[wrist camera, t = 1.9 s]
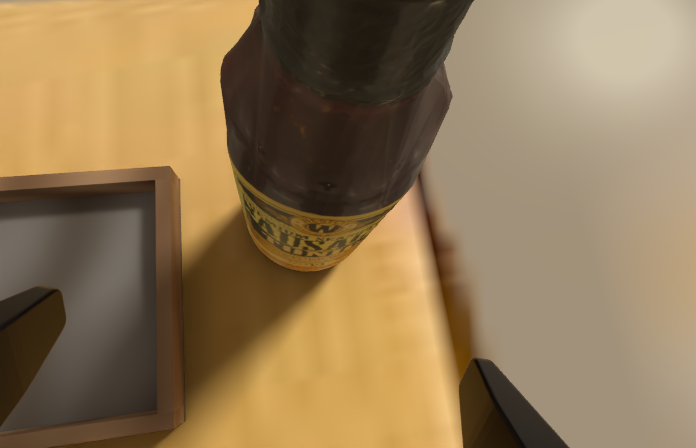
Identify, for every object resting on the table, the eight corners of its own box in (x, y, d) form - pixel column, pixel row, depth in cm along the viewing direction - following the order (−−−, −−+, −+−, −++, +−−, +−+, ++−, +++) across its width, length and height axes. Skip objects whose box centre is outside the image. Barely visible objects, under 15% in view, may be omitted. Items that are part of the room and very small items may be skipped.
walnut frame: (179, 179, 23) (169, 166, 21) (185, 420, 20) (174, 428, 18) (-72, 197, 22) (-106, 184, 20) (-108, 464, 19) (-153, 477, 17)
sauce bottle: (243, 272, 22) (-49, -87, 3) (255, 163, 24) (109, -507, 5) (365, 280, 23) (714, 24, 4) (369, 173, 25) (631, -375, 6)
